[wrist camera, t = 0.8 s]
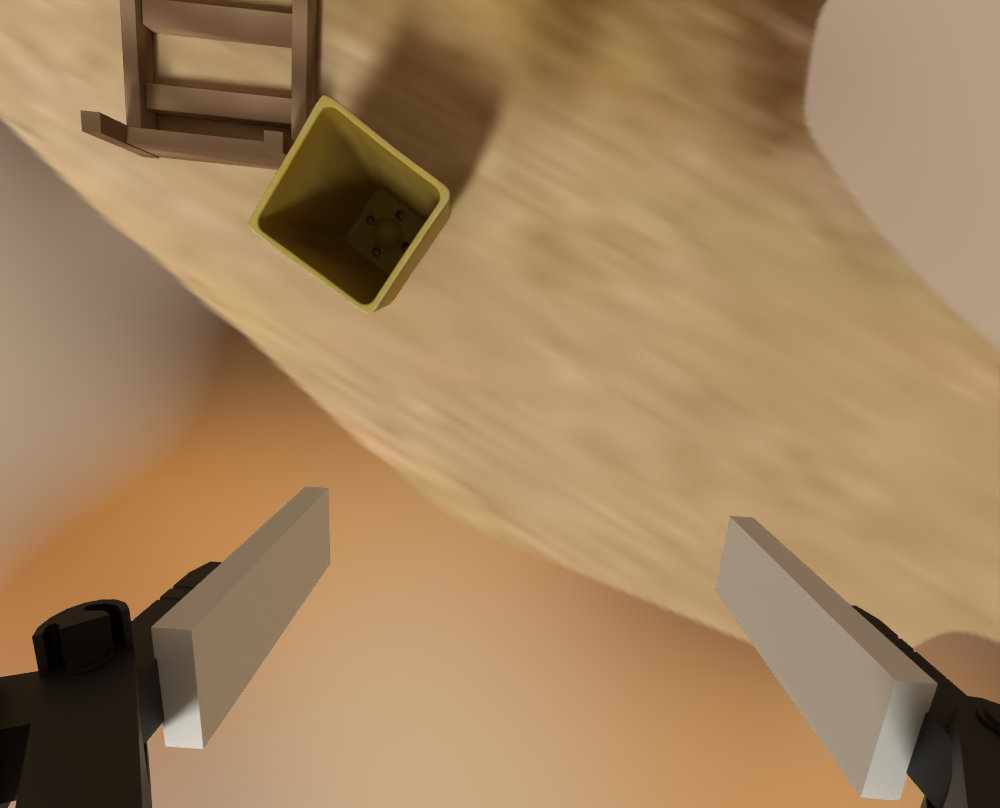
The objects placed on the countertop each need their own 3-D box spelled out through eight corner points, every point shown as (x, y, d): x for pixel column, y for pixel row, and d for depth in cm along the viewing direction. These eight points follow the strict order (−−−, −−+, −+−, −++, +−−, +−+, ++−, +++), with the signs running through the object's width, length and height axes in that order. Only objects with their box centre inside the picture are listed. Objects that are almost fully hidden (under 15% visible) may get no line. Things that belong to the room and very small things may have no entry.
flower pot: (308, 246, 35) (242, 225, 26) (370, 145, 34) (322, 88, 25) (402, 315, 36) (369, 318, 27) (467, 221, 35) (454, 191, 26)
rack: (133, -46, 32) (64, -111, 27) (318, -25, 32) (284, -86, 27) (143, 156, 34) (82, 131, 29) (314, 175, 34) (282, 152, 29)
